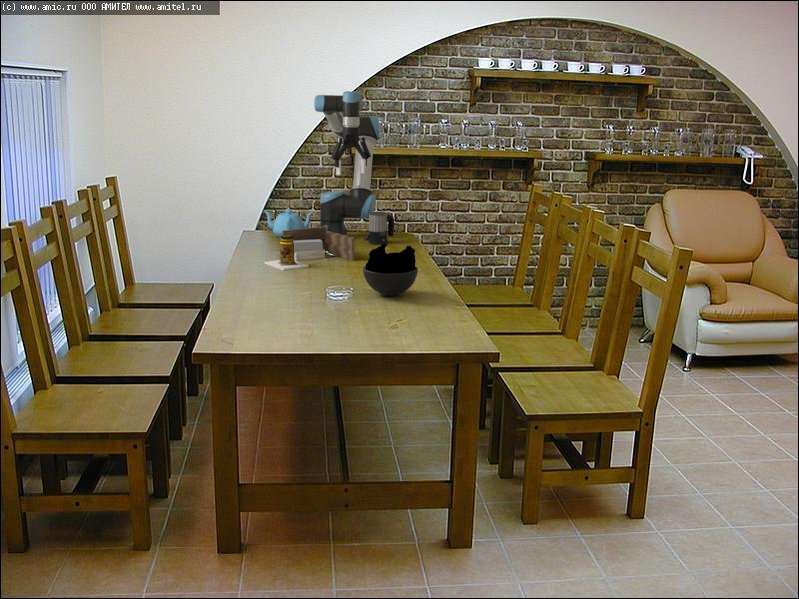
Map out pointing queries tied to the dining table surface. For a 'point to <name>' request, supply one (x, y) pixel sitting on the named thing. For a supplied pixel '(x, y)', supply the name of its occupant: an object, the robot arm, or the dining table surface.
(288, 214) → the teapot
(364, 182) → the robot arm
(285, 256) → the condiment
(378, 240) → the milk frother
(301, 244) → the offcut top
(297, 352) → the dining table surface
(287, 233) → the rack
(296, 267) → the pad
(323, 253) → the block
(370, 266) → the bowl of black rocks
